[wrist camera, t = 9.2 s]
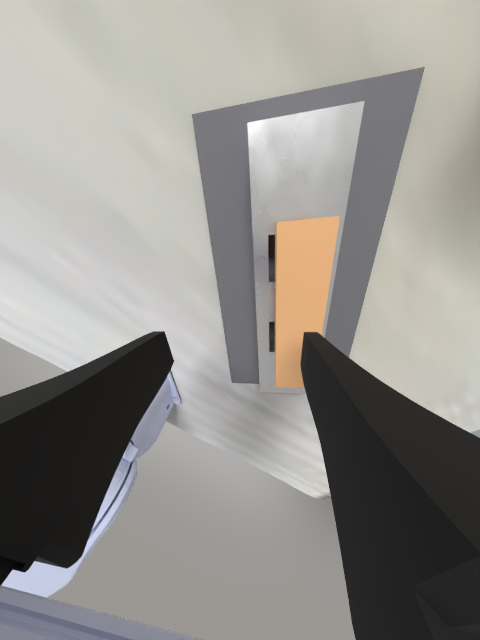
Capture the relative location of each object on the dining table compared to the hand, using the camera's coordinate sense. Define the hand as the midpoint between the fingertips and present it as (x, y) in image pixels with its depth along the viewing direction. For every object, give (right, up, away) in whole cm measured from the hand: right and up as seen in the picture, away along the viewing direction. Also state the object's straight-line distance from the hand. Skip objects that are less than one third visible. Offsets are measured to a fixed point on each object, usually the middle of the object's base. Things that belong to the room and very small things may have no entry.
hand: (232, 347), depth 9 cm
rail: (+5, +5, +9) cm, 11 cm away
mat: (+5, +5, +9) cm, 11 cm away
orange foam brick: (+5, +4, +8) cm, 10 cm away
